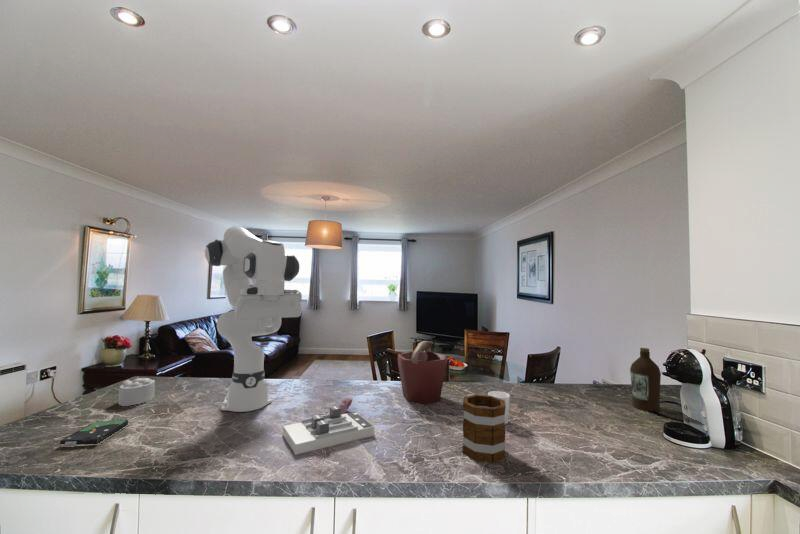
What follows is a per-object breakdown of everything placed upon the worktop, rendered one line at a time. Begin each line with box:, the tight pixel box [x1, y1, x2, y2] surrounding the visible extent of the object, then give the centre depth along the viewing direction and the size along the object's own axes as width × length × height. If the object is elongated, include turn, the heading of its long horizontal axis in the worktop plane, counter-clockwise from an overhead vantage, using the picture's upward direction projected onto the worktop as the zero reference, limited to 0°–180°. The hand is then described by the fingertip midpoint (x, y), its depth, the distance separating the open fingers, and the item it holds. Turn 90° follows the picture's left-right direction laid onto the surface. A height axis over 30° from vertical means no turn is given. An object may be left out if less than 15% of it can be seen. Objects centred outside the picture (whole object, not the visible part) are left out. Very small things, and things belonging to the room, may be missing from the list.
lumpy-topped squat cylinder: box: [118, 377, 156, 406], centre depth 141 cm, size 10×13×9 cm
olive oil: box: [629, 347, 662, 412], centre depth 145 cm, size 11×11×25 cm
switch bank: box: [282, 411, 375, 456], centre depth 113 cm, size 15×26×4 cm, turn 122°
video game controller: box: [338, 397, 353, 414], centre depth 131 cm, size 10×5×7 cm, turn 170°
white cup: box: [487, 390, 511, 425], centre depth 127 cm, size 8×8×10 cm
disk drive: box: [59, 419, 129, 445], centre depth 109 cm, size 10×3×15 cm
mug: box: [462, 393, 506, 464], centre depth 107 cm, size 20×14×15 cm
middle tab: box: [311, 414, 324, 429], centre depth 111 cm, size 3×3×4 cm
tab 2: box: [329, 405, 341, 419], centre depth 119 cm, size 3×3×4 cm
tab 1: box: [316, 420, 329, 435], centre depth 106 cm, size 3×3×4 cm
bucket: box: [397, 340, 448, 406], centre depth 152 cm, size 24×22×25 cm
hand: (268, 332), depth 110 cm, fingers closed
